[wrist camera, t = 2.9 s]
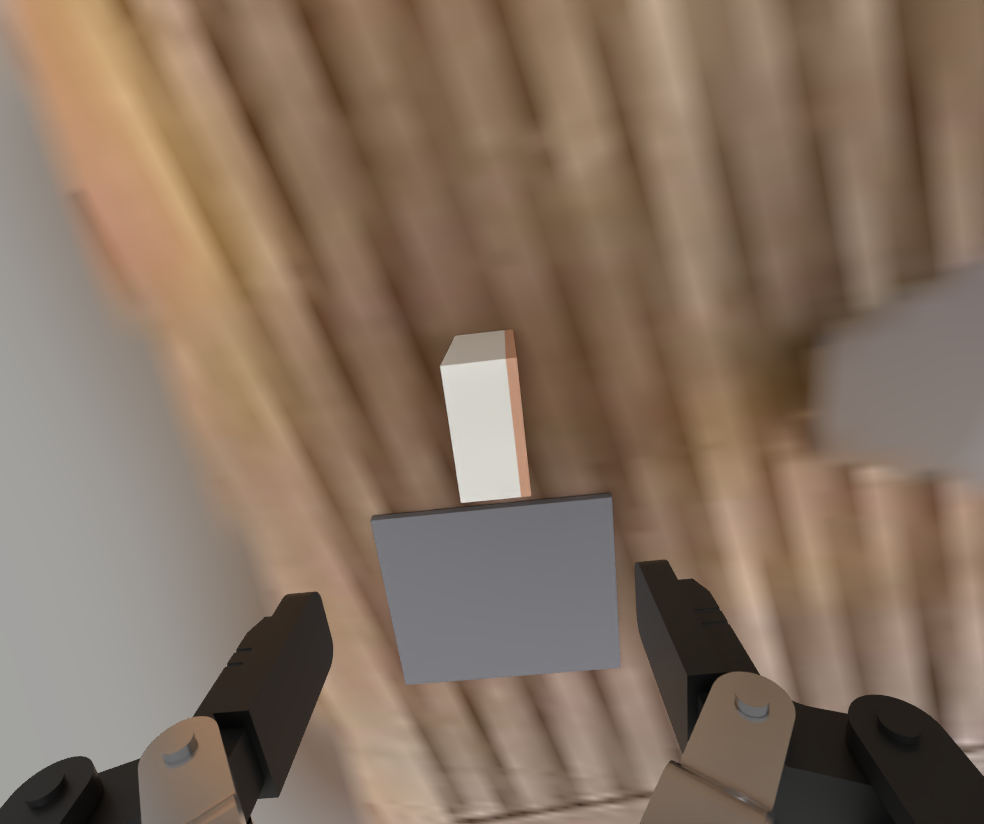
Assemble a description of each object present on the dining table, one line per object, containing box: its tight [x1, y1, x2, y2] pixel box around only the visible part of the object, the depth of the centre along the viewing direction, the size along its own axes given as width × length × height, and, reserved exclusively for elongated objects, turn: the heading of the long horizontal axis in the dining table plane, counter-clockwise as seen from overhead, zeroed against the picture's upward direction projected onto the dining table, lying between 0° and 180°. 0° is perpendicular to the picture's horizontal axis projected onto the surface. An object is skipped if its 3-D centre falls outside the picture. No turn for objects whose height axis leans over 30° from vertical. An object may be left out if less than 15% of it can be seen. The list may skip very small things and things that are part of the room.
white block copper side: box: [440, 329, 531, 503], centre depth 28 cm, size 7×4×8 cm, turn 7°
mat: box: [371, 493, 621, 685], centre depth 36 cm, size 14×16×1 cm
